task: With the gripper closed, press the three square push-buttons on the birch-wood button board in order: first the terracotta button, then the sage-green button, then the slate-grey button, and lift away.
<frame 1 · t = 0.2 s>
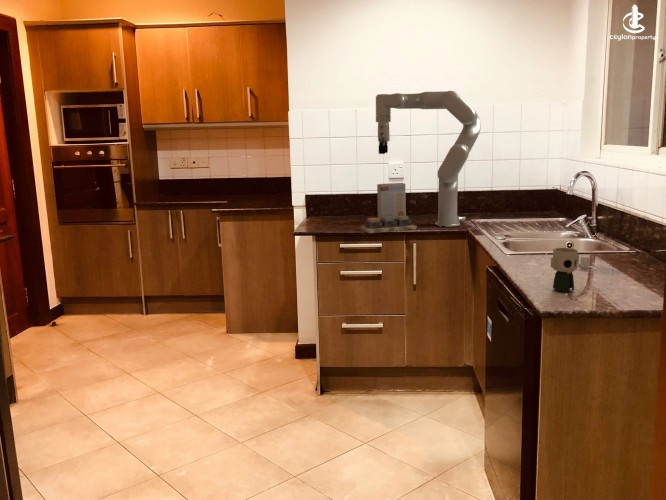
hand: (383, 153, 321), 37 cm above the counter, tool pointing down, fingers open, 9 cm apart
beige and green figure: (563, 291, 195), on the counter
button terracotta: (373, 221, 309), point 4 cm above the counter, slide at 0.0 cm
button slate: (388, 220, 312), point 4 cm above the counter, slide at 0.0 cm
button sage: (402, 219, 314), point 4 cm above the counter, slide at 0.0 cm
teacup and saucer: (591, 269, 224), on the counter
cracker box: (391, 223, 332), on the counter
button board: (388, 229, 313), on the counter
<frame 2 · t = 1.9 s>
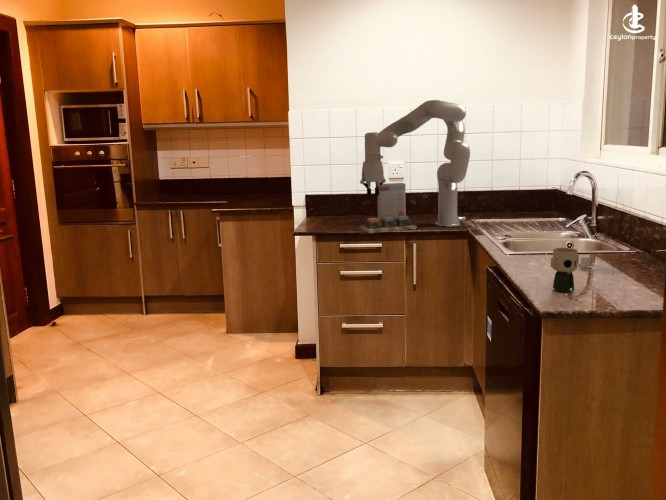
hand: (373, 195, 307), 17 cm above the counter, tool pointing down, fingers open, 3 cm apart
nothing on the counter moved.
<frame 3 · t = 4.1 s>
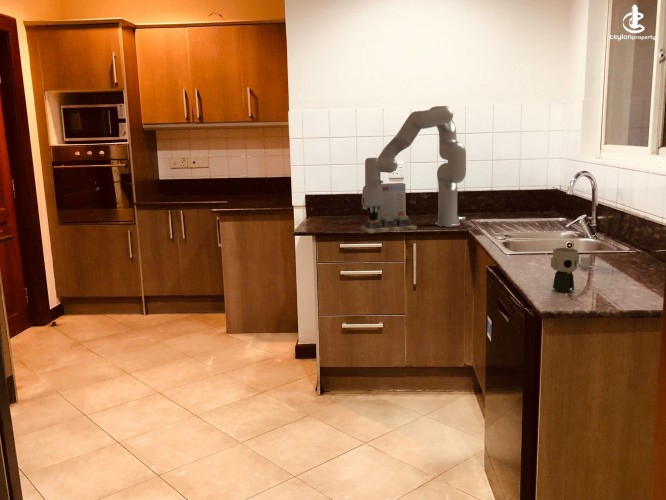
hand: (372, 220, 309), 5 cm above the counter, tool pointing down, fingers closed
button terracotta: (373, 223, 309), point 4 cm above the counter, slide at 1.0 cm, touching gripper
everything else where it was.
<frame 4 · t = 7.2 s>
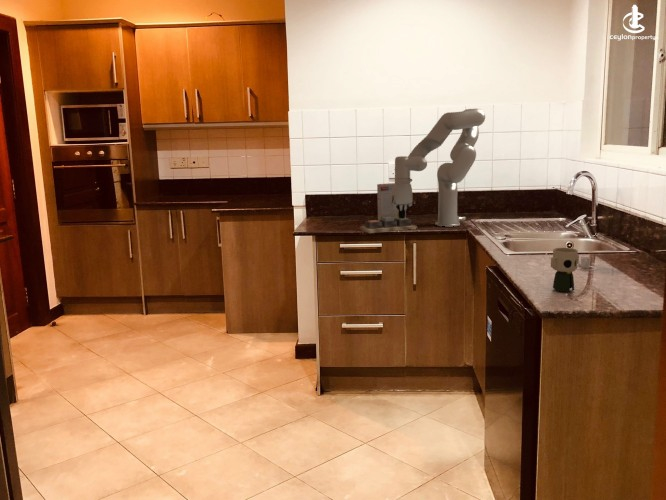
hand: (401, 218, 314), 5 cm above the counter, tool pointing down, fingers closed
button terracotta: (373, 223, 309), point 3 cm above the counter, slide at 1.2 cm
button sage: (402, 221, 315), point 3 cm above the counter, slide at 1.0 cm, touching gripper
everything else where it was.
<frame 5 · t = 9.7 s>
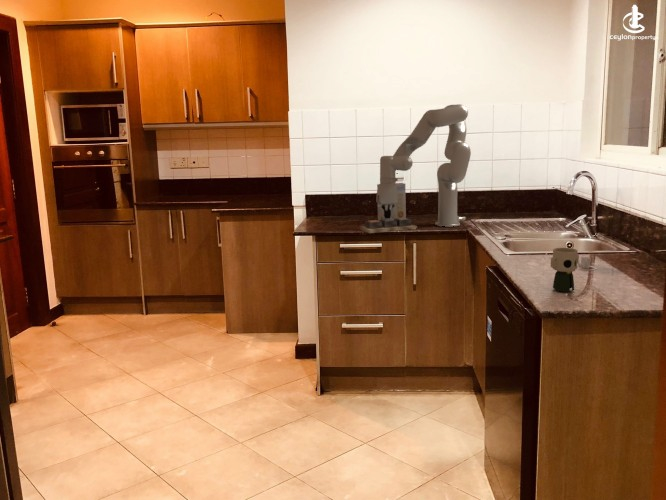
hand: (387, 218, 311), 6 cm above the counter, tool pointing down, fingers closed
button slate: (388, 221, 312), point 4 cm above the counter, slide at 0.4 cm, touching gripper
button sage: (402, 221, 315), point 3 cm above the counter, slide at 1.2 cm
everything else where it was.
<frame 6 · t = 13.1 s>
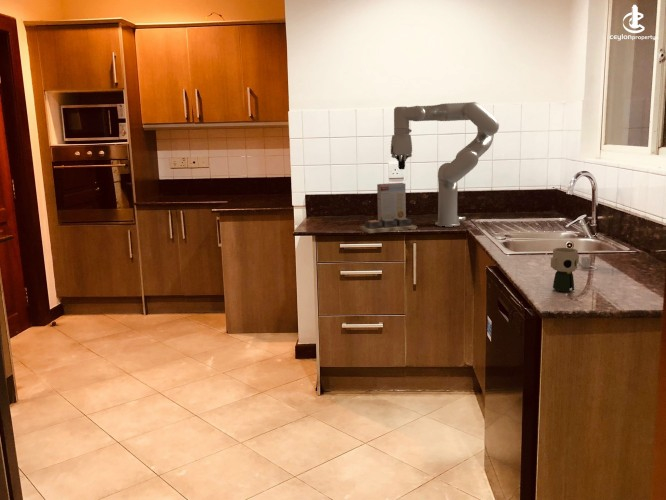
hand: (401, 169, 315), 29 cm above the counter, tool pointing down, fingers closed
button slate: (388, 222, 312), point 3 cm above the counter, slide at 1.2 cm
everything else where it was.
at the end: button terracotta slide at 1.2 cm; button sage slide at 1.2 cm; button slate slide at 1.2 cm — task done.
